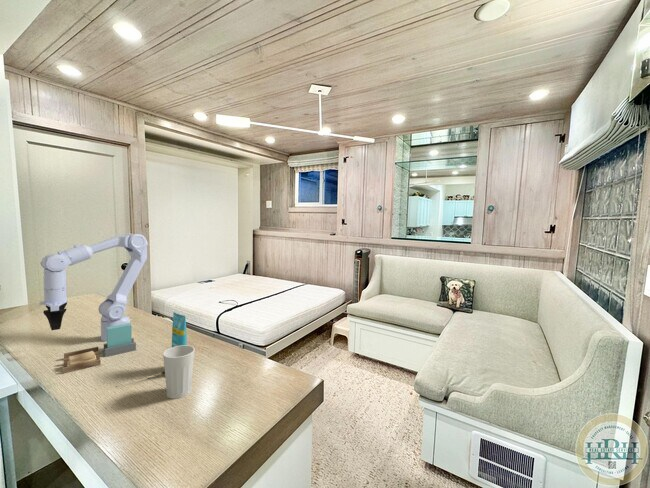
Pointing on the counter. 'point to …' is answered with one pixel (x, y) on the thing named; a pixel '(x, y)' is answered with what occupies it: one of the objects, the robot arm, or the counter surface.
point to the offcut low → (81, 362)
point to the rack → (83, 365)
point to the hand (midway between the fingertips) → (56, 326)
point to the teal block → (119, 335)
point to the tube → (179, 330)
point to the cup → (178, 370)
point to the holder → (119, 349)
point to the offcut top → (81, 357)
